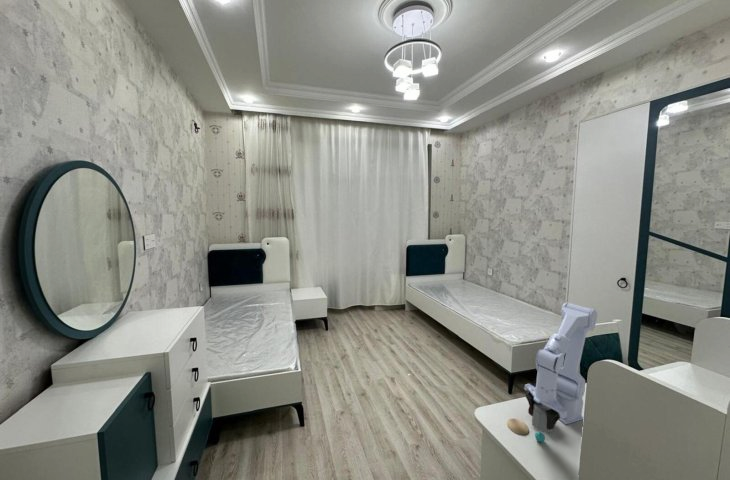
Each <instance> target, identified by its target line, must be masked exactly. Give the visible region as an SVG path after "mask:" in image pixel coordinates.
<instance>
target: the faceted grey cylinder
mask: <svg viewBox="0 0 730 480" xmlns="http://www.w3.org/2000/svg"><path fill="white" fill-rule="evenodd" d="M546 410H551V408H549V407H548V406H546V405H544V404H542V403H537V402H535V403H534V407H533V416H531V425H532V426H533V427H534V428H535V429H536V430H538V432H541V433H546V434H547V433H550V432H552V431H553V429H550V430H549V429H547V415H546Z"/></svg>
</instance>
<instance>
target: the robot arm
mask: <svg viewBox="0 0 730 480" xmlns="http://www.w3.org/2000/svg"><path fill="white" fill-rule="evenodd" d="M560 315H561V320H562V321H561V324H560V326H559V329H558V331H557V333H552V334H551V335H550V337H549V339H548V341H547V342H546V344H545V346H544V348H543V349H539V350H538V351H537V353H536V356H535V369H536V371H537V374H536V381H535V382H536V383H535V386H534V385H532V384H531V383H527V384H524V390H525V391H526V392H528V393H526V394H525V398H526V400H527V403H528V405H529V406H530V410H531V415H532V416H533V407H534V403H535V402H537V403H542V404H544V405H546V406H548V407H549V408H551V410H546V415H547V429H549V430H550V429H552V430H553V429H554V428H555V426H556V424H557V423H558V420H559V421H561V423H563V424H565V425H569V424H571V423H572V424H573V423H575V422H578V421H581V420H584V419H583V418H584V416H583V407H584V400H583V398H584V395H585V391H586V380H585V378H584V377H583V376H582V375H581V374H580V372H579V370H580V369H579V368H580V364H581V360H582V356H583V351H584V346H585V342H586V337H587V334H588V331H594V330H595V328H596V324H597V319H598V311H597V310H596V309H595V308H590V307H587V306H586V307H585V306H581V305H579V304H575V303H571V302H568V301H567V302H565V303H563V304H562V306H561V311H560ZM531 415H530V416H531ZM532 416H531V417H532Z"/></svg>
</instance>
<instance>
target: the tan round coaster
mask: <svg viewBox="0 0 730 480" xmlns="http://www.w3.org/2000/svg"><path fill="white" fill-rule="evenodd" d="M506 423H507V424H506V425H507V427H508V429H509V430H510V431H511V432H513V433H515V434H518V435H521V436H524V435H528V433H529V431H530V428H529V425H527V423H525V422H524V421H523V420H520V419H517V418H509V419H507V422H506Z"/></svg>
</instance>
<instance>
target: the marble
mask: <svg viewBox="0 0 730 480" xmlns="http://www.w3.org/2000/svg"><path fill="white" fill-rule="evenodd" d="M534 436H535V437H534V438H535V439H536V440H537V442H539V443H543V442H545V441H546V437H545V436H546V435H545V434H544V432H542V431H536V432H535V433H534Z"/></svg>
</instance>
